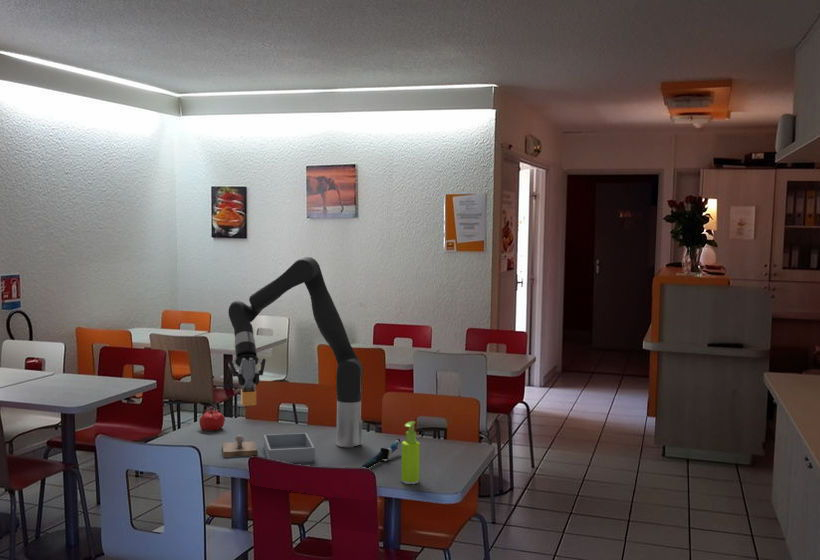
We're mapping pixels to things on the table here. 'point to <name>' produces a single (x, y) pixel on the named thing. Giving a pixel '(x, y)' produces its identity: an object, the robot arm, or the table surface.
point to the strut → (248, 383)
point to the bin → (289, 447)
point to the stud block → (239, 448)
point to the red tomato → (211, 420)
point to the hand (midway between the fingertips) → (249, 384)
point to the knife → (383, 454)
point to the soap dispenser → (410, 455)
